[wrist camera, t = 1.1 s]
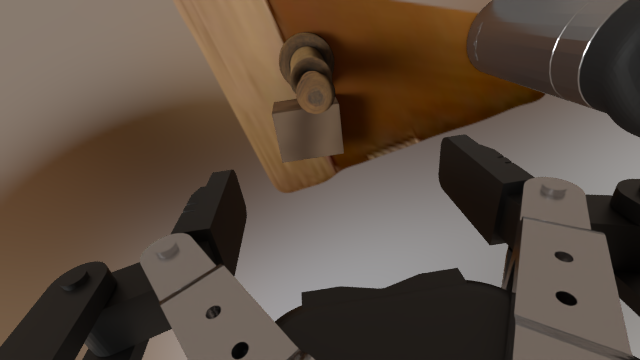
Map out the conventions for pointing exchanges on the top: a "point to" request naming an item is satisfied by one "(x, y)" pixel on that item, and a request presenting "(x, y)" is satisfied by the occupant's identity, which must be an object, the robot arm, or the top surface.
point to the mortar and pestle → (309, 71)
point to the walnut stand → (307, 131)
